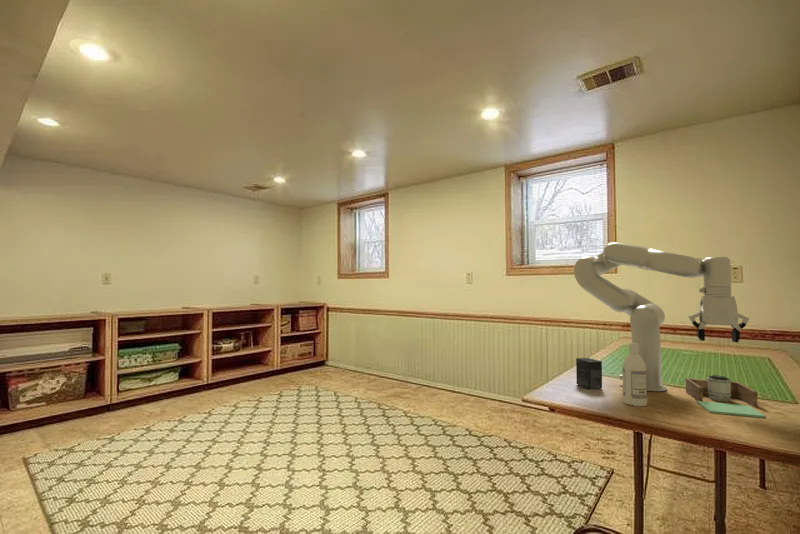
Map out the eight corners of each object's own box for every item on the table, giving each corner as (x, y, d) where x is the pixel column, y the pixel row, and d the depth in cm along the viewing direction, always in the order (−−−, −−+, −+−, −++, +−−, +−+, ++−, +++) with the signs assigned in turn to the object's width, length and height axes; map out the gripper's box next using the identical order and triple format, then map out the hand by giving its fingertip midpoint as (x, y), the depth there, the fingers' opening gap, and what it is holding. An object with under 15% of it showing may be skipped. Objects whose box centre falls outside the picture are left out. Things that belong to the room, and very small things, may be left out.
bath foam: (651, 405, 132) (650, 344, 133) (638, 408, 129) (637, 345, 130) (631, 399, 138) (630, 341, 139) (618, 402, 135) (617, 342, 136)
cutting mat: (709, 412, 125) (709, 410, 125) (696, 402, 135) (696, 400, 135) (765, 417, 120) (765, 415, 120) (747, 407, 130) (747, 405, 130)
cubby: (699, 402, 136) (698, 387, 136) (685, 392, 148) (685, 378, 148) (757, 407, 130) (757, 391, 131) (738, 396, 143) (738, 382, 143)
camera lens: (707, 395, 144) (707, 373, 144) (730, 398, 140) (729, 376, 140) (708, 399, 138) (707, 376, 139) (731, 403, 135) (731, 379, 135)
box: (602, 389, 151) (602, 361, 152) (589, 390, 150) (589, 361, 150) (588, 384, 159) (588, 357, 159) (576, 384, 158) (575, 357, 158)
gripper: (692, 291, 140) (692, 341, 139) (753, 292, 134) (754, 344, 133) (684, 291, 147) (685, 338, 146) (742, 292, 141) (743, 341, 141)
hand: (718, 341), depth 140 cm, fingers open, 9 cm apart
